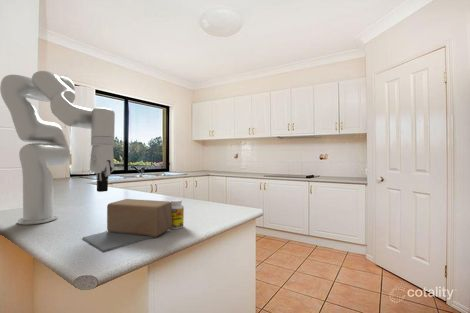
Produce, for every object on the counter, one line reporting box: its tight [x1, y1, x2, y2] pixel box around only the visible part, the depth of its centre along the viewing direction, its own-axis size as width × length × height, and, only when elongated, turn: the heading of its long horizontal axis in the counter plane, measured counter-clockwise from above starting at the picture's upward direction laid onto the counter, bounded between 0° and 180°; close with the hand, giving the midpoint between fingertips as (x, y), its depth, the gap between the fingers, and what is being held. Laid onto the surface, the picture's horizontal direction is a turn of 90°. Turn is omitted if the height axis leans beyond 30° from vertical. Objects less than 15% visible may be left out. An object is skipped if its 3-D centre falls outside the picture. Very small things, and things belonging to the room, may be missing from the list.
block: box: [106, 198, 172, 237], centre depth 84 cm, size 10×10×20 cm
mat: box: [82, 230, 156, 253], centre depth 79 cm, size 16×18×1 cm
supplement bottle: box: [170, 198, 185, 230], centre depth 89 cm, size 6×6×10 cm
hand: (102, 191), depth 88 cm, fingers closed
